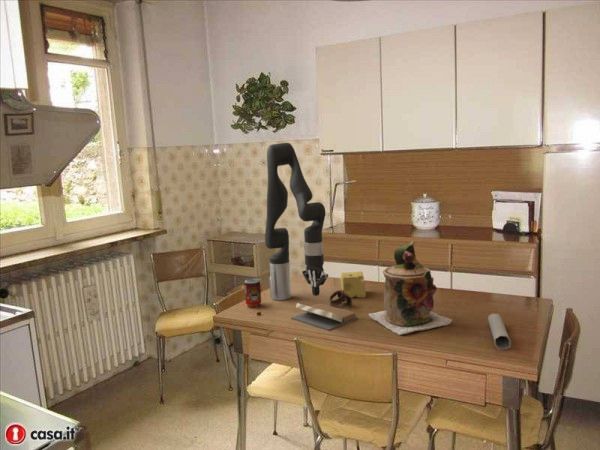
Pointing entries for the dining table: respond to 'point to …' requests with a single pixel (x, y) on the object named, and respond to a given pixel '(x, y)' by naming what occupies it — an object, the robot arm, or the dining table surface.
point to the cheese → (353, 284)
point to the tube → (499, 332)
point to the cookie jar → (408, 295)
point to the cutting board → (326, 322)
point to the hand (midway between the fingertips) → (316, 295)
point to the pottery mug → (340, 298)
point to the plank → (319, 312)
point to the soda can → (252, 292)
